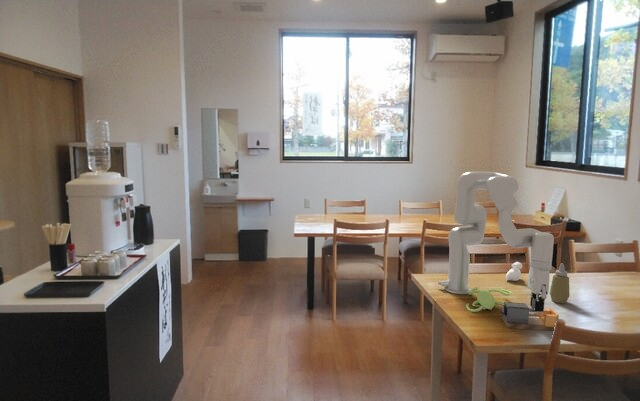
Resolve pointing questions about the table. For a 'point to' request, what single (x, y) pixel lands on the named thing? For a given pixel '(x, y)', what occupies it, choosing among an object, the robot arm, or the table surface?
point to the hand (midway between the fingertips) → (536, 308)
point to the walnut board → (529, 325)
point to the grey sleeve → (516, 313)
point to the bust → (514, 272)
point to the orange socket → (549, 317)
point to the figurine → (486, 299)
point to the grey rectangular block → (532, 309)
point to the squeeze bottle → (560, 286)
